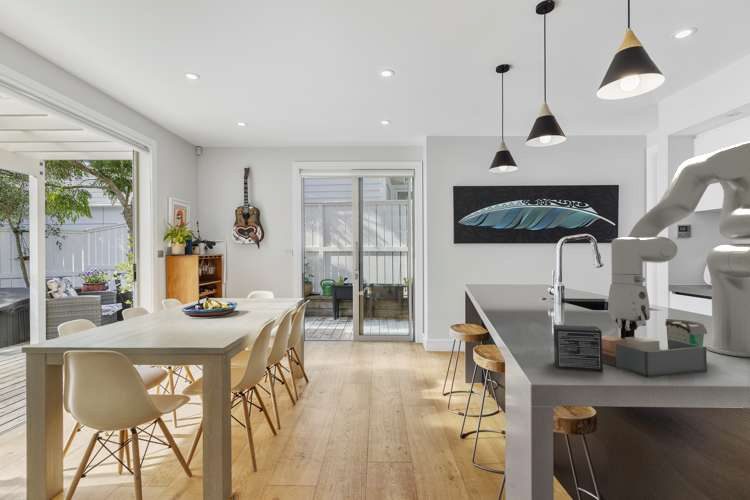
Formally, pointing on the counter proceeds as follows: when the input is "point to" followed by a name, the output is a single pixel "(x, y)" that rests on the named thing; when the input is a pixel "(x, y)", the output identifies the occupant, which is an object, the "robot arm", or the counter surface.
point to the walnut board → (609, 357)
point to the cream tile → (643, 343)
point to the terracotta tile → (612, 342)
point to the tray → (662, 359)
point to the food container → (685, 331)
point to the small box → (578, 348)
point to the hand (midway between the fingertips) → (627, 343)
